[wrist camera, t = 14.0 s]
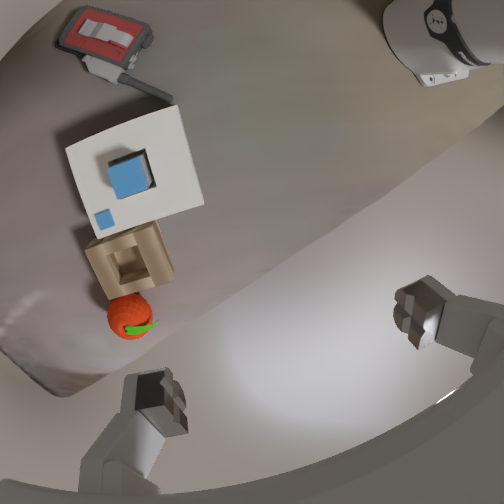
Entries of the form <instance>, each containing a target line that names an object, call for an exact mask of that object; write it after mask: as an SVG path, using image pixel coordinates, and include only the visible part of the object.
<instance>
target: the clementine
mask: <svg viewBox="0 0 504 504" xmlns="http://www.w3.org/2000/svg"><path fill="white" fill-rule="evenodd" d="M107 318H108V322H109V325H110V327H111V329H112V330H113V331H114V333H116V334H117V335H118V336H119V337H121V338H124V339H127V340H133V339H138V338H141V337H142V336H144V335H145V334H146V333H147V332H148V331H149V329H150V328H152V327H153V326H154V325H155V324H156V323H157V321H158V320H159V319H158V320H157V321H156V322H155V323H152V320H153V318H152V310H151V308H150V306H149V304H148V303H147V301H146V300H145V299H144V298H143V297H141V296H139V295H137V294H134V293H131V294H128V295H125V296H121V297H118V298H115V299H114V300H112V302H111V304H110V306H109V308H108V314H107Z"/></svg>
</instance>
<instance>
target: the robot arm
mask: <svg viewBox="0 0 504 504" xmlns="http://www.w3.org/2000/svg"><path fill="white" fill-rule="evenodd" d="M383 27H384V32H385V35H386V38H387V40H388V43H389V45H390V47H391V48H392V50H393V52H394V53H395V55H396V56H397V57H398V59H399V60H400V61H401V62H402V63H403V64H404V65H405V66H406V67H408V68H409V69H410V70H411V71H412V72H413V73H414V74H415V75H416V77H417V78H418V80H419V82H420V83H421V84H422V85H423V86H424V87H428V86H433V85H437V84H441V83H445V82H450V81H454V80H459V79H463V78H467V77H468V74H469V70H470V69H477V68H479V67H482V66H487V65H490V64H491V63H503V64H504V0H394V1H393V2H392V3H391V4H389V5H388V6H387V7H386V9H385V11H384V14H383ZM395 300H396V301H397V304H396V306H395V307H394V312H393V313H394V314H393V317H394V320H395V323H396V325H397V327H398V328H399V329H400V331H401V332H404V333H408V339H409V341H410V342H411V343H412V344H413V345H414V346H415V347H416V349H417V350H419V349H421V348H423V347H425V346H427V345H429V344H430V343H432V342H434V341H435V342H437V343H439V344H441V345H444V346H446V347H448V348H451V349H453V350H455V351H458V352H460V353H463V354H465V355H468V356H470V357H472V358H474V361H473V363H472V365H471V368H470V372H471V373H472V374H473V376H472V377H471V378H469V379H468V380H467V381H466V382H464V383H463V384H462V385H460V386H459V387H458V388H456V389H455V390H454V391H452V392H451V393H449V394H448V395H447V396H445V397H443V398H442V399H440V400H439V401H438V402H436V403H434V404H433V405H431V406H430V407H429V408H427V409H425V410H424V411H422V412H420V413H419V414H417V415H416V416H414V417H412V418H411V419H409V420H407V421H405V422H403V423H402V424H400V425H398V426H396V427H394V428H392V429H391V430H389V431H387V432H385V433H383V434H381V435H379V436H377V437H375V438H373V439H371V440H369V441H367V442H365V443H362V444H360V445H358V446H356V447H354V448H351V449H349V450H347V451H344V452H342V453H340V454H337V455H335V456H332V457H329V458H327V459H324V460H322V461H319V462H316V463H313V464H310V465H308V466H305V467H302V468H299V469H296V470H292V471H289V472H286V473H282V474H279V475H275V476H272V477H268V478H264V479H260V480H256V481H252V482H247V483H243V484H238V485H233V486H227V487H222V488H216V489H209V490H202V491H195V492H186V493H175V494H163V495H162V494H161V491H160V488H159V487H158V486H157V485H155V484H153V483H151V482H150V481H148V480H147V479H146V478H147V476H148V474H149V472H150V470H151V468H152V466H153V464H154V462H155V460H156V458H157V456H158V454H159V452H160V450H161V448H162V446H163V444H164V442H165V439H166V437H172V436H177V435H182V434H187V433H188V423H187V417H186V416H185V414H184V413H183V411H184V410H185V408H186V400H185V396H184V392H183V390H182V388H181V386H180V384H179V383H178V382H177V381H175V380H173V374H172V372H171V371H170V369H169V368H167V367H165V368H160V369H155V370H150V371H144V372H140V373H135V374H129V375H127V376H126V377H125V379H124V387H123V393H122V401H121V410H120V413H117V414H116V415H115V416H114V417H113V419H112V420H111V422H110V423H109V424H108V425H107V427H106V428H105V429H104V431H103V432H102V433H101V435H100V436H99V437H98V438H97V440H96V441H95V442H94V444H93V445H92V446H91V448H90V449H89V450H88V452H87V453H86V454H85V456H84V457H83V458H82V459H81V466H80V476H79V488H78V492H72V491H65V490H58V489H52V488H47V487H42V486H37V485H32V484H28V483H23V482H19V481H16V480H12V479H2V480H1V481H0V504H504V305H502V304H498V303H494V302H489V301H484V300H480V299H476V298H472V297H468V296H463V295H458V296H456V295H455V294H454V293H452V292H451V291H450V290H449V289H447V288H446V287H445V286H444V285H442V284H441V283H440V282H438V281H437V280H436V279H435V278H433V277H432V276H429V275H427V276H425V277H423V278H421V279H419V280H418V281H415V282H413V283H411V284H409V285H407V286H404V287H402V288H400V289H398V290H397V291H396V293H395Z"/></svg>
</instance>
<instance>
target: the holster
mask: <svg viewBox="0 0 504 504" xmlns="http://www.w3.org/2000/svg"><path fill="white" fill-rule="evenodd" d="M84 251H85V253H86V255H87V258H88V260H89V262H90V264H91V266H92V268H93V270H94V272H95V274H96V276H97V278H98V280H99V282H100V284H101V286H102V288H103V290H104V292H105V294H106V296H107V298H108V299H109V300H111V299H114V298H118V297H121V296H125V295H128V294H131V293H135V292H138V291H142V290H145V289H148V288H152V287H155V286H159V285H162V284H165V283H169V282H172V281H173V277H174V266H173V263H172V261H171V258H170V255H169V253H168V250H167V247H166V245H165V242H164V239H163V237H162V234H161V231H160V229H159V226H158V223H157V220H153V221H150V222H147V223H144V224H141V225H138V226H135V227H132V228H129V229H126V230H123V231H120V232H117V233H115V234H112V235H109V236H106V237H103V238H101V239H97V237H96V238H93V239H92V240H91V242H90V243H89V244H88V246H87V247H86V248H85V250H84Z"/></svg>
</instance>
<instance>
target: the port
mask: <svg viewBox="0 0 504 504" xmlns="http://www.w3.org/2000/svg"><path fill="white" fill-rule="evenodd" d="M65 150H66V153H67V156H68V160H69V163H70V166H71V169H72V172H73V175H74V178H75V181H76V184H77V187H78V190H79V193H80V196H81V198H82V201H83V204H84V207H85V209H86V212H87V214H88V217H89V219H90V222H91V224H92V227H93V229H94V232H95V234H96V237H97V239H101V238H103V237H106V236H109V235H112V234H115V233H117V232H120V231H123V230H126V229H129V228H132V227H135V226H138V225H141V224H144V223H147V222H150V221H153V220H156V219H159V218H162V217H165V216H168V215H171V214H174V213H178V212H181V211H184V210H187V209H191V208H194V207H197V206H200V205H204V199H203V194H202V190H201V187H200V183H199V180H198V176H197V173H196V169H195V166H194V162H193V159H192V155H191V151H190V148H189V144H188V140H187V137H186V133H185V129H184V125H183V122H182V118H181V114H180V110H179V107H178V105H174V106H171V107H168V108H165V109H162V110H158V111H155V112H152V113H149V114H147V115H144V116H141V117H138V118H135V119H132V120H130V121H127V122H124V123H122V124H119V125H117V126H114V127H112V128H109V129H107V130H104V131H102V132H100V133H97V134H95V135H93V136H90V137H88V138H86V139H84V140H82V141H79V142H77V143H75V144H73V145H71V146H69V147H67V148H65ZM145 152H146V153H147V156H148V160H149V163H150V166H151V169H152V173H153V176H154V180H153V181H152V183H151V184H150V186H149V187H148V189H146V190H143V191H140V192H138V193H135V194H132V195H129V196H126V197H124V198H121V199H118V200H117V198H116V195H115V192H114V189H113V186H112V183H111V180H110V177H109V174H108V171H107V169H108V168H110V167H111V166H113V165H115V164H117V163H119V162H121V161H123V160H125V159H128V158H131V157H134V156H136V155H139V154H142V153H145Z"/></svg>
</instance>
